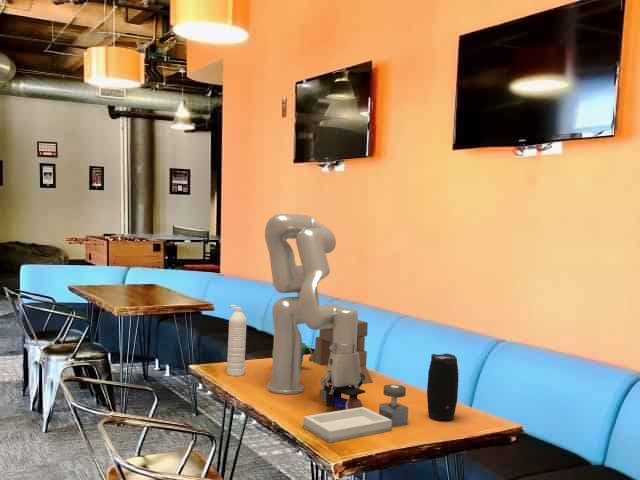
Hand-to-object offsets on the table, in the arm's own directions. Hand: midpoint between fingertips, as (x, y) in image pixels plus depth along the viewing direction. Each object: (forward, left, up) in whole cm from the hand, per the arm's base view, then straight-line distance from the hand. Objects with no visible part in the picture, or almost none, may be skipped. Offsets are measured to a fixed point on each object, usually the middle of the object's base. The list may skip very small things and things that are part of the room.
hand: (341, 403), depth 186 cm
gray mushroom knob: (+17, +6, +2) cm, 18 cm away
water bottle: (-52, -12, -2) cm, 53 cm away
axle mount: (+17, +6, -2) cm, 18 cm away
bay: (+15, -9, -2) cm, 18 cm away
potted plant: (-49, +11, -2) cm, 50 cm away
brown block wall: (-41, +27, -2) cm, 49 cm away
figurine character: (0, 0, -2) cm, 2 cm away
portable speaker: (+20, +23, -2) cm, 30 cm away
